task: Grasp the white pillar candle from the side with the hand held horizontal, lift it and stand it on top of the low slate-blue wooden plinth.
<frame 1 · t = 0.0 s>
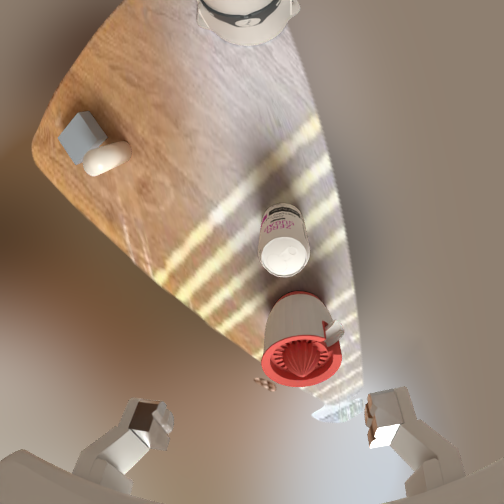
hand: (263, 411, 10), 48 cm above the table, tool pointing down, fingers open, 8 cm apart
white pillar candle: (122, 152, 53), on the table
supplement can: (282, 221, 58), on the table
plinth: (87, 136, 51), on the table
citrus juicer: (301, 307, 67), on the table
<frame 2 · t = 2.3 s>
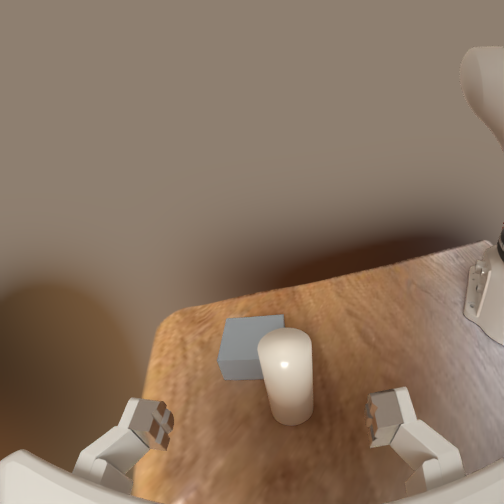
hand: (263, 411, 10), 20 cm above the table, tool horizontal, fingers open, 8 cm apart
white pillar candle: (292, 408, 30), on the table
plinth: (257, 356, 38), on the table
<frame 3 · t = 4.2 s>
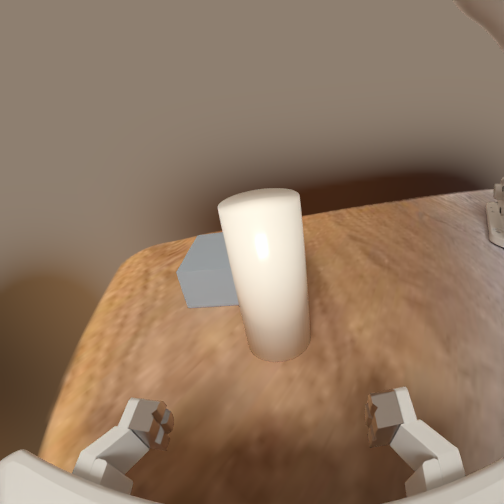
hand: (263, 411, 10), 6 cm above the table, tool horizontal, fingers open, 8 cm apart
white pillar candle: (279, 339, 22), on the table
plinth: (234, 281, 30), on the table
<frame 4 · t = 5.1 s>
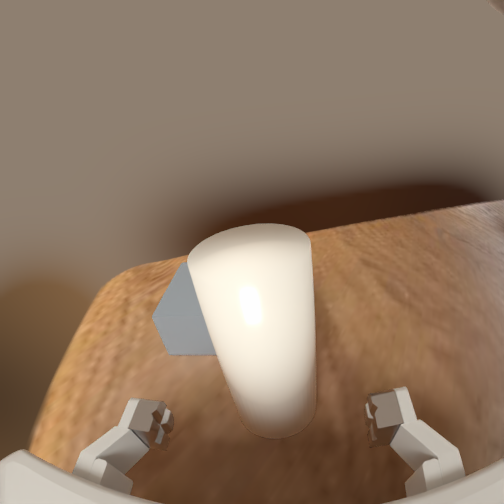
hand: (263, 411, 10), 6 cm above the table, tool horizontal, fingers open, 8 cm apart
white pillar candle: (277, 406, 16), on the table
plinth: (224, 321, 25), on the table
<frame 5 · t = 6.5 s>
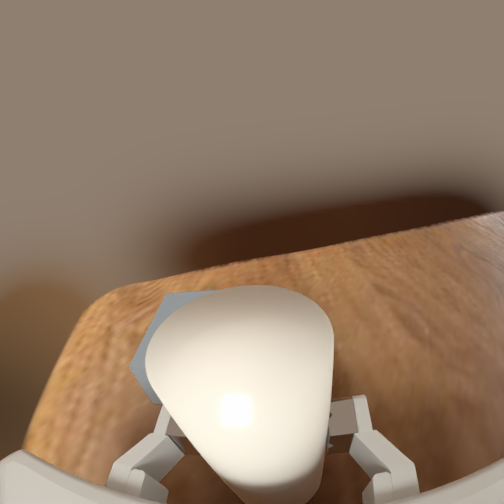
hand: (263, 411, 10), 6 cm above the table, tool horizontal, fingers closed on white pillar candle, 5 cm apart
white pillar candle: (276, 475, 12), on the table, touching gripper
plinth: (216, 364, 20), on the table
when the fingers open (11 cm above the table, at t = 11.3 s): white pillar candle stays where it is, resting on plinth.
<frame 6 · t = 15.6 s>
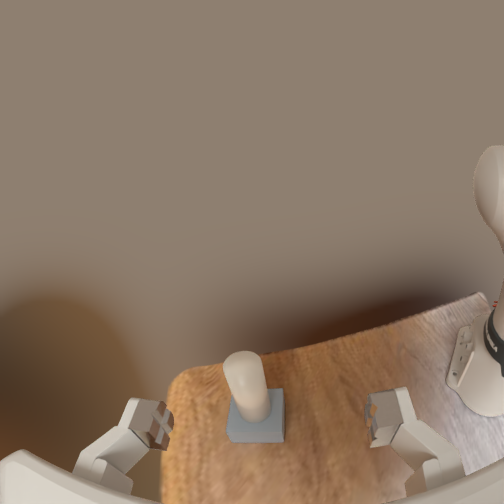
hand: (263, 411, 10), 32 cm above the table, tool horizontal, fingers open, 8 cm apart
white pillar candle: (255, 409, 39), point 4 cm above the table, touching plinth
plinth: (259, 422, 40), on the table
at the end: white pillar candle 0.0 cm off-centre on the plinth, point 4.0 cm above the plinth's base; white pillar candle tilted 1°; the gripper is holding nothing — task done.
